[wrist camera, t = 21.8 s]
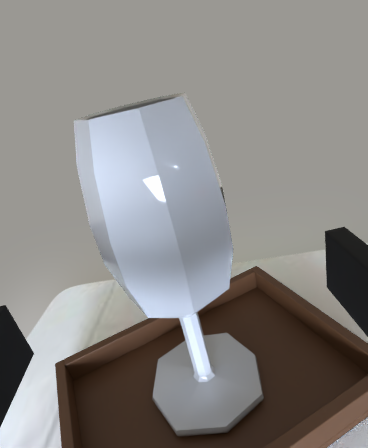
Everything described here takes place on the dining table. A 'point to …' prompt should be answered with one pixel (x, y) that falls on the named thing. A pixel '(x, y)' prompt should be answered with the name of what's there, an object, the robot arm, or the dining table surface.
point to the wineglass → (169, 250)
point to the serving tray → (267, 364)
